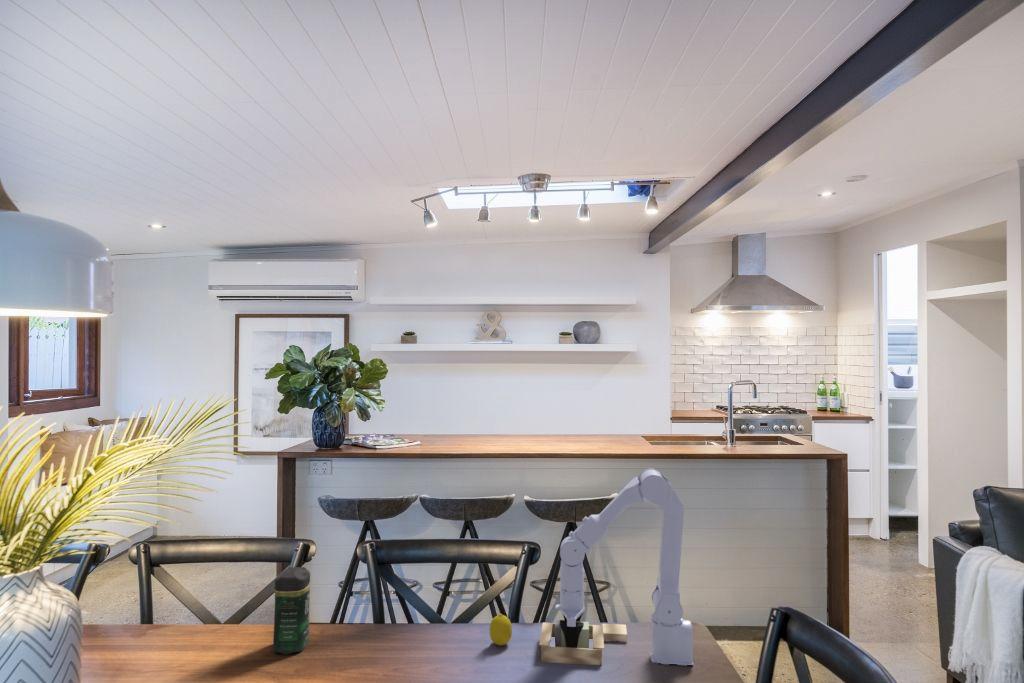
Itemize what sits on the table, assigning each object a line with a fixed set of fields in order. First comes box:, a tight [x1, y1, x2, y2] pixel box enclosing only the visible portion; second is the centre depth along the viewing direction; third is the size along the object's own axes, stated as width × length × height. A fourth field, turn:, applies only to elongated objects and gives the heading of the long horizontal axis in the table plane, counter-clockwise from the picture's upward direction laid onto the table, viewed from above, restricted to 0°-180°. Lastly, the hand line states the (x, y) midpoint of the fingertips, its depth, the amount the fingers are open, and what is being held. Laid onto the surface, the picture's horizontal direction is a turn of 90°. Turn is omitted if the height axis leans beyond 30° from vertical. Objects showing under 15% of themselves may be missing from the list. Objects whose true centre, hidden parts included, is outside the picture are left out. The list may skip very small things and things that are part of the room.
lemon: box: [489, 613, 513, 647], centre depth 162 cm, size 6×6×8 cm
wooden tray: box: [538, 622, 605, 666], centre depth 158 cm, size 15×14×4 cm
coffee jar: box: [272, 566, 311, 655], centre depth 162 cm, size 10×8×19 cm
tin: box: [555, 619, 590, 648], centre depth 159 cm, size 8×4×6 cm, turn 83°
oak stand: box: [601, 623, 628, 643], centre depth 166 cm, size 6×6×2 cm
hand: (572, 644), depth 158 cm, fingers open, 6 cm apart
